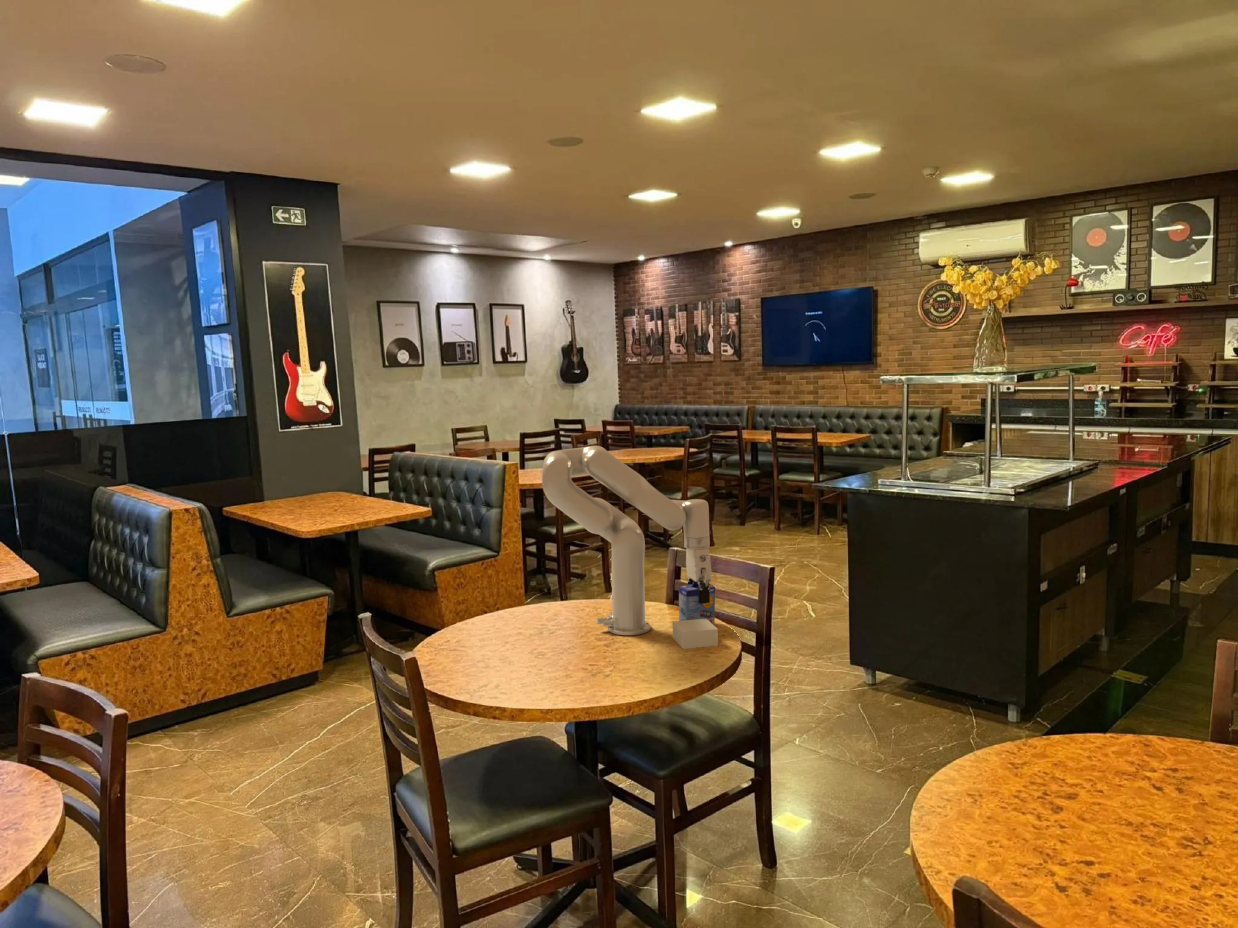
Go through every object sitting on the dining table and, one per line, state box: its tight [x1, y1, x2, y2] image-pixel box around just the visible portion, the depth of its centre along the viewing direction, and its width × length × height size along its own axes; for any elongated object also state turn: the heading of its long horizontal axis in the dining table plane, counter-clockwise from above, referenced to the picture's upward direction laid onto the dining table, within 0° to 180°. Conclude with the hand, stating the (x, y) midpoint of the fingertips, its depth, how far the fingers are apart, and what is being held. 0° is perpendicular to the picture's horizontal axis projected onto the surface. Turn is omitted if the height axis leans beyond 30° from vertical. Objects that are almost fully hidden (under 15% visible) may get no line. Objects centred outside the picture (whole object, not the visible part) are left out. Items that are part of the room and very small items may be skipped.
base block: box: [672, 619, 719, 650], centre depth 236 cm, size 10×10×5 cm
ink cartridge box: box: [678, 579, 716, 626], centre depth 250 cm, size 10×6×14 cm, turn 115°
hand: (698, 598), depth 249 cm, fingers open, 9 cm apart
